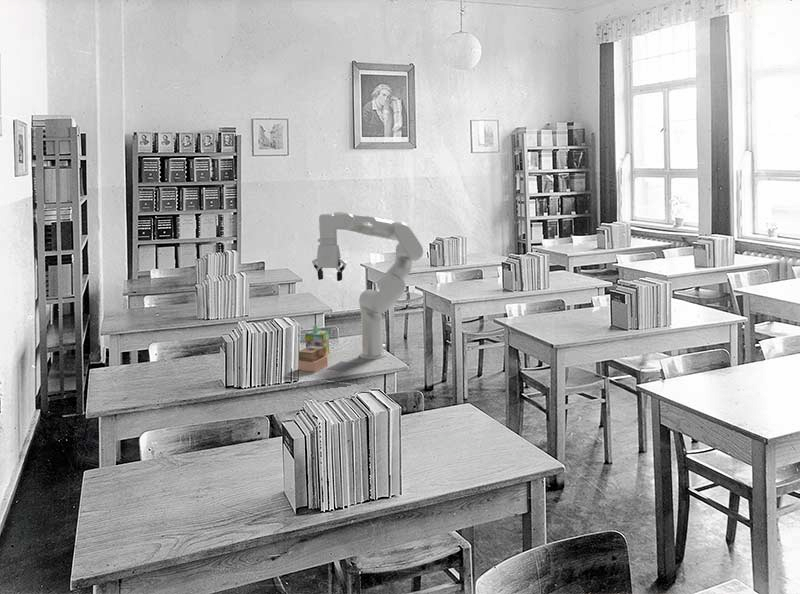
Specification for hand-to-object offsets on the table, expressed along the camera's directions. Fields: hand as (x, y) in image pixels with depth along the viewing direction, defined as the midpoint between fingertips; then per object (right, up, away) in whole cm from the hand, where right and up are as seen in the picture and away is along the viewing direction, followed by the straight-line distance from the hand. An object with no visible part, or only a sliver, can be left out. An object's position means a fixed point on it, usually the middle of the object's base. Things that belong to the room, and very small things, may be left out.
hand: (330, 280), depth 328 cm
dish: (-8, -40, -2) cm, 40 cm away
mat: (+6, -39, -1) cm, 39 cm away
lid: (-8, -35, -3) cm, 36 cm away
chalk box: (-8, -36, +20) cm, 42 cm away
